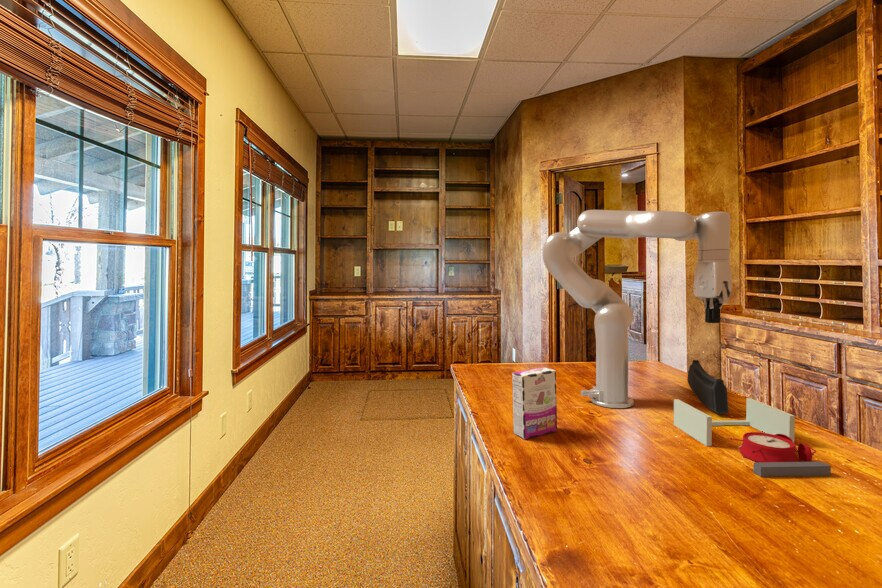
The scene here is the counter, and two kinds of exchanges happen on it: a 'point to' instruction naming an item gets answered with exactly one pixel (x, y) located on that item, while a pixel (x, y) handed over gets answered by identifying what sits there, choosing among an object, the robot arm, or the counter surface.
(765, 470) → the rail
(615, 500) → the counter surface
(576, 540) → the counter surface
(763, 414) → the shelf bay
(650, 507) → the counter surface
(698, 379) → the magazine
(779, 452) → the alarm clock
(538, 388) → the candy bar box
